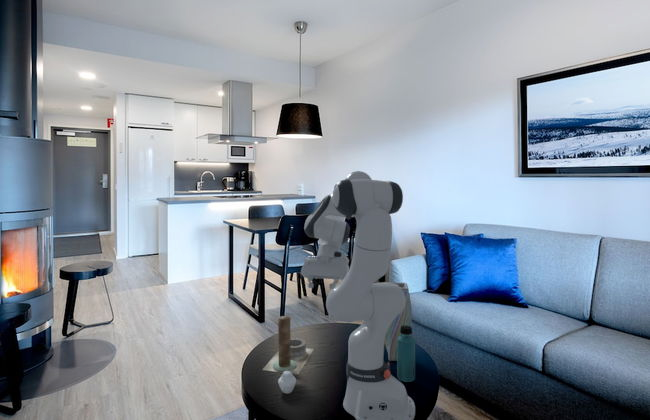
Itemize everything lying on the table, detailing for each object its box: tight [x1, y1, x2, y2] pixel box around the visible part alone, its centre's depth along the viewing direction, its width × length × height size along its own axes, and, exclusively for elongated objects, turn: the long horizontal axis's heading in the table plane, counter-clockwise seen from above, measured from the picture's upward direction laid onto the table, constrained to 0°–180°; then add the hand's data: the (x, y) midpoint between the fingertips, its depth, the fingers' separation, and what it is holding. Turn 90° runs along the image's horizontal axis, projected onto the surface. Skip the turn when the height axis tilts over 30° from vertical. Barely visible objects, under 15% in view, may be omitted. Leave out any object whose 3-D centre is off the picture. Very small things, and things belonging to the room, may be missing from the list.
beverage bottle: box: [396, 326, 417, 383], centre depth 134 cm, size 6×7×20 cm
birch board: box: [262, 337, 315, 375], centre depth 149 cm, size 14×22×6 cm, turn 166°
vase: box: [383, 281, 413, 362], centre depth 152 cm, size 14×14×30 cm
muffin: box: [277, 371, 297, 394], centre depth 128 cm, size 6×6×7 cm
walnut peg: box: [277, 315, 291, 367], centre depth 143 cm, size 4×4×18 cm
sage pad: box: [273, 360, 296, 373], centre depth 143 cm, size 9×9×1 cm
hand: (320, 288), depth 150 cm, fingers open, 8 cm apart
